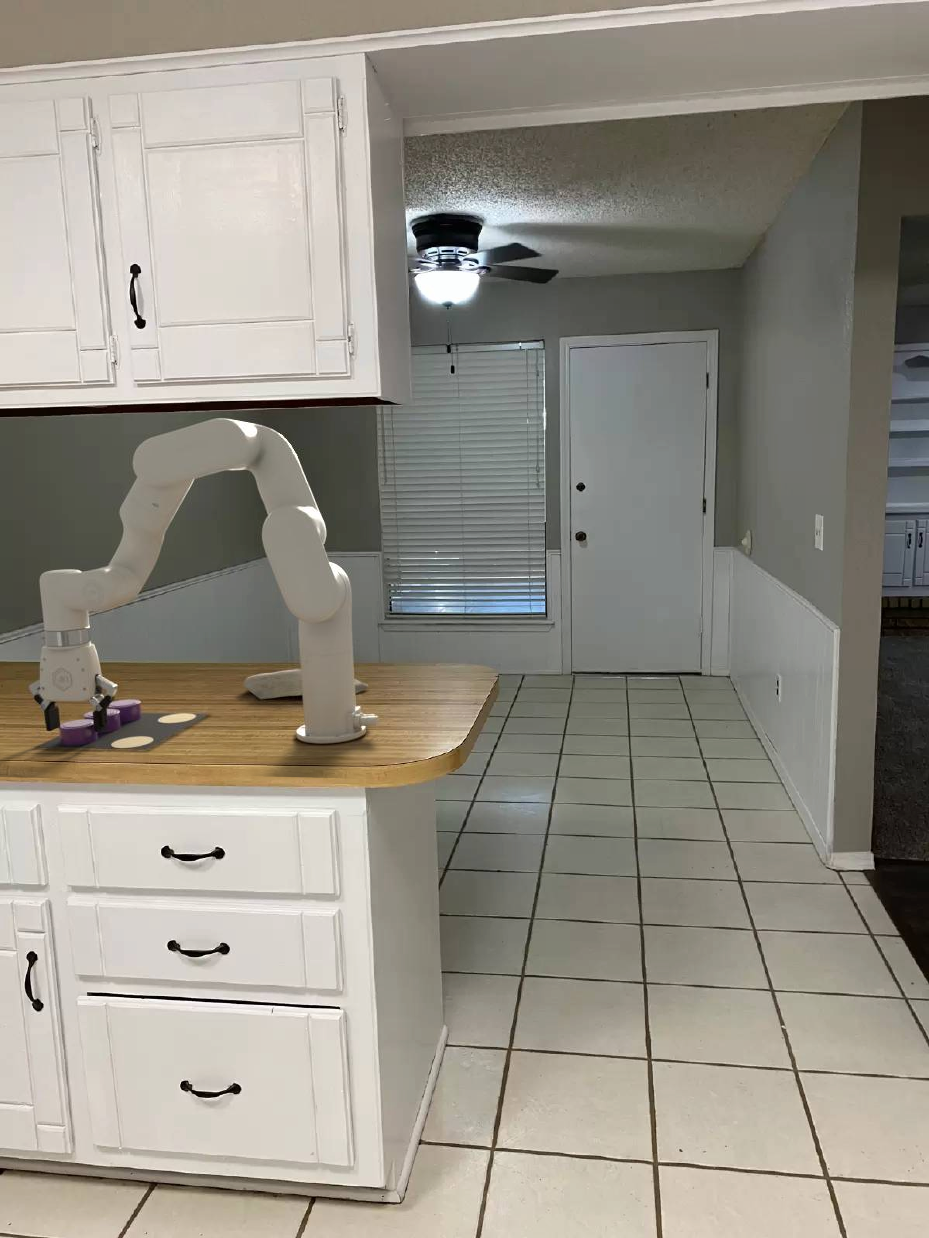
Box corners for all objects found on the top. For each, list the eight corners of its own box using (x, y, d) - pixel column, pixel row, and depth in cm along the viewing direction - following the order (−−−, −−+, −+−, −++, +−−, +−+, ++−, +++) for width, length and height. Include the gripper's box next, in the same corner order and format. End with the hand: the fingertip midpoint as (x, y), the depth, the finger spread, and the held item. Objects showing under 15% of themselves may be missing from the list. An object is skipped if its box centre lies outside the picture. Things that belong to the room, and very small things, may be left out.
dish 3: (148, 714, 183) (146, 698, 182) (130, 723, 177) (129, 706, 176) (119, 714, 184) (117, 698, 184) (101, 722, 178) (99, 706, 177)
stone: (225, 679, 197) (265, 667, 211) (231, 712, 198) (270, 697, 211) (333, 668, 186) (367, 655, 200) (339, 702, 187) (373, 687, 201)
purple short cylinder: (105, 735, 168) (103, 718, 168) (85, 746, 162) (83, 728, 162) (74, 735, 169) (72, 718, 169) (53, 745, 163) (51, 727, 163)
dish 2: (127, 724, 176) (125, 708, 175) (108, 734, 169) (107, 717, 169) (97, 724, 177) (96, 708, 176) (78, 733, 171) (76, 716, 170)
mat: (209, 715, 182) (209, 713, 182) (146, 751, 159) (146, 748, 158) (110, 714, 186) (110, 712, 186) (35, 749, 163) (35, 746, 163)
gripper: (11, 641, 161) (21, 734, 163) (99, 642, 158) (108, 736, 160) (38, 634, 168) (48, 723, 171) (123, 634, 165) (131, 725, 167)
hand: (77, 729), depth 165 cm, fingers open, 9 cm apart
